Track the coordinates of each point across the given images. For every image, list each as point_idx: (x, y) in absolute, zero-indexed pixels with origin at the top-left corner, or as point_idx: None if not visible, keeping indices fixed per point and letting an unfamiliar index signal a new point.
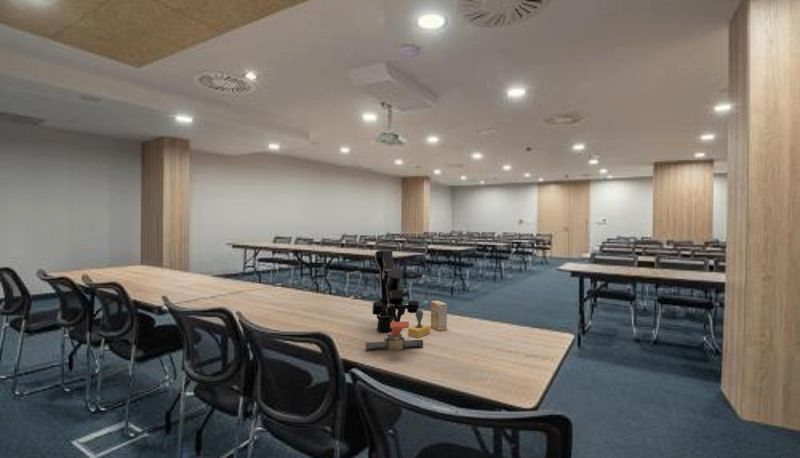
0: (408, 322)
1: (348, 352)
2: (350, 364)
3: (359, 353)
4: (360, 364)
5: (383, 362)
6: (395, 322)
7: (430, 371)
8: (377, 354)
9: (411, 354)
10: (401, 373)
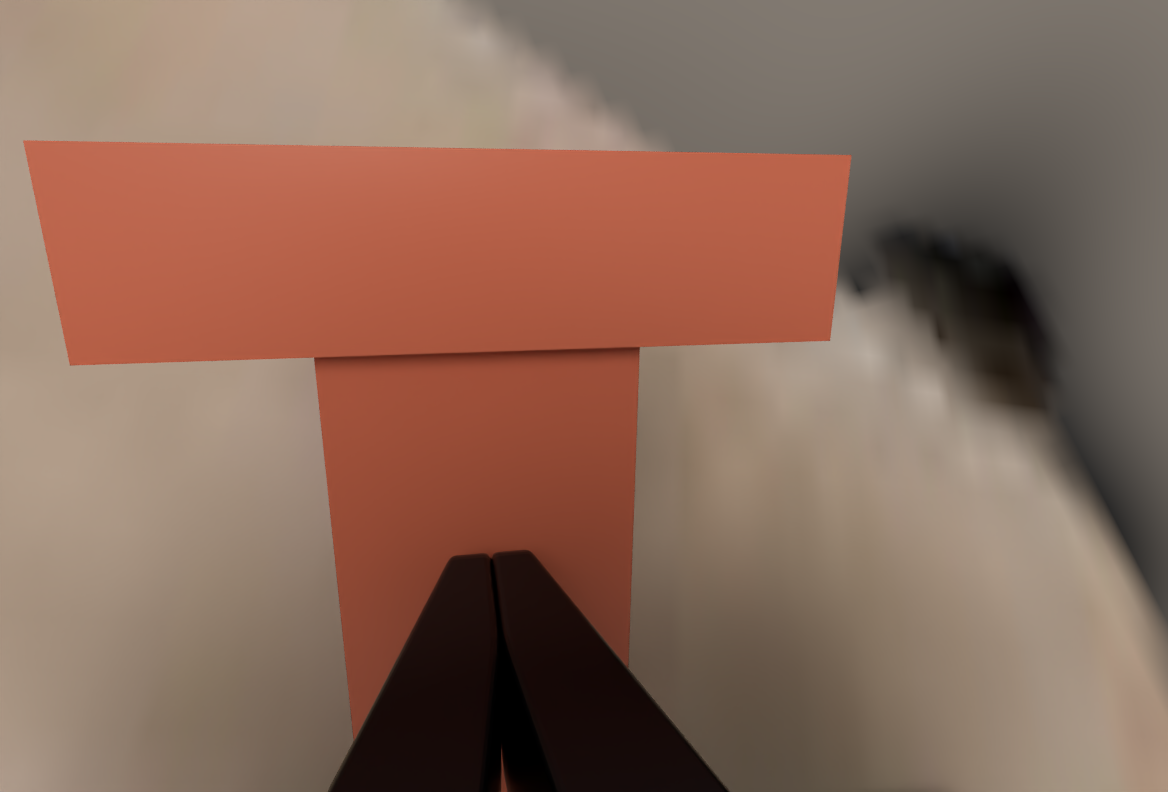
0: (62, 142)
1: (1163, 769)
2: (1041, 342)
3: (1014, 716)
4: (938, 328)
5: (686, 352)
6: (659, 153)
7: (164, 24)
8: (769, 655)
9: (250, 617)
10: (505, 39)
